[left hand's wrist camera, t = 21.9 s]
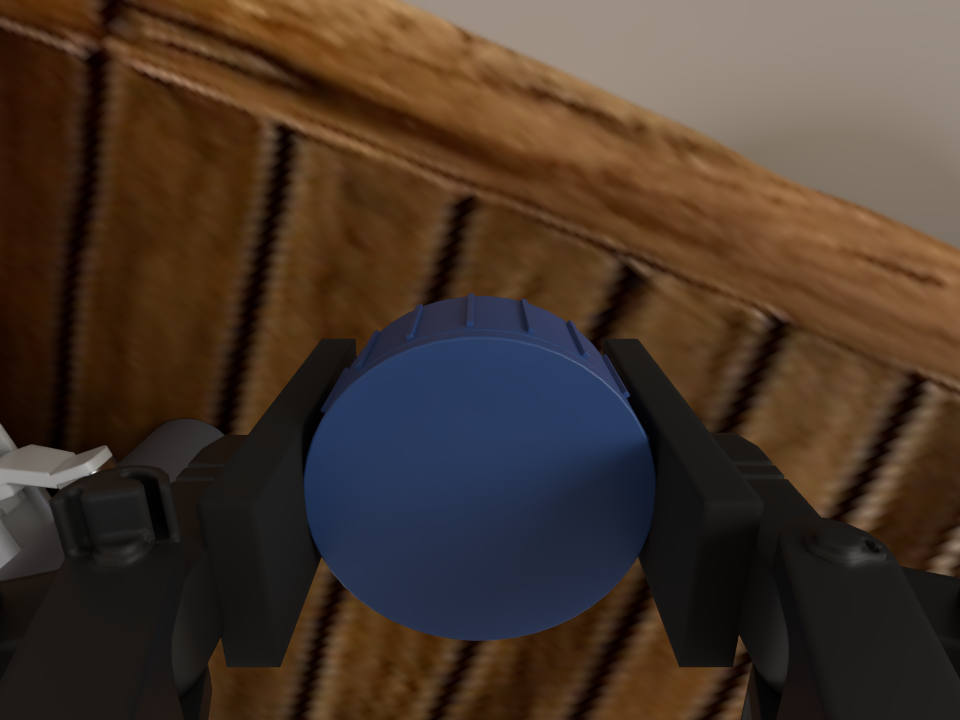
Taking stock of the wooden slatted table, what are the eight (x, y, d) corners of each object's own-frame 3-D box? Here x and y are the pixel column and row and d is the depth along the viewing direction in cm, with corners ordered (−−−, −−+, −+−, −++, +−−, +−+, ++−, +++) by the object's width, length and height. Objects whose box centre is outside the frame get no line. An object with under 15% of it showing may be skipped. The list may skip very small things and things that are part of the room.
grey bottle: (131, 466, 34) (-153, 733, 18) (173, 401, 32) (-96, 630, 17) (210, 513, 35) (4, 801, 20) (254, 451, 33) (69, 709, 18)
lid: (644, 529, 13) (679, 613, 11) (378, 578, 13) (357, 669, 11) (604, 262, 11) (637, 295, 9) (292, 329, 11) (245, 378, 9)
